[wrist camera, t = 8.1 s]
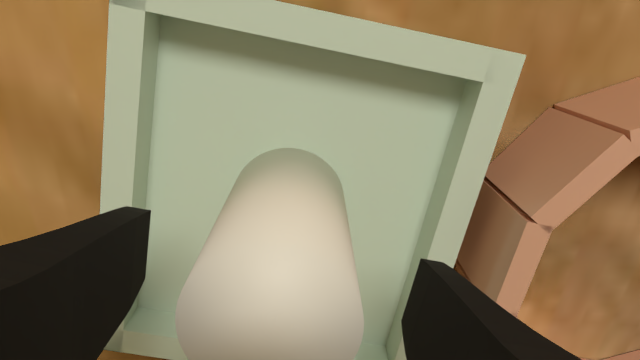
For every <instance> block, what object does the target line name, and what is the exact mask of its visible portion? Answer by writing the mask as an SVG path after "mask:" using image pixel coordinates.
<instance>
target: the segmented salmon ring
mask: <svg viewBox="0 0 640 360" xmlns="http://www.w3.org/2000/svg"><path fill="white" fill-rule="evenodd" d="M554 108H555V109H553V108H551V107H549V108H548V109H547V110H546V111H545V112H544V113H543V114H542V115H541V116H540V117H538V118H537V119H536V120H535V121H534V122H533V123H532V124H531V125H530V126H529V127H528V128H527V129H526V130H525V131H524V132H523V133H522V134H521V135H520V136H519V137H517V138H516V139H515V140H514V141H513V142H512V143H511V144H510V145H509V146H508V147H507V148H506V149H505V150H504V151H503V152H502V153H501V154H500V155H499V156H498V157H497V158H495V159H494V160H493V161H492V162H491V163H490V164H489V166H488V169H487V172H486V174H485V176H486V177H487V178H485V177H484V180H483V183H482V186H481V189H480V192H479V195H478V198H477V201H476V204H475V206H474V209H473V212H472V215H471V218H470V221H469V224H468V227H467V230H466V233H465V236H464V239H463V241H462V244H461V247H460V250H459V253H458V256H457V259H456V262H455V266H456V270H457V272H458V273H459V274H461V275H462V276H463V277H464V278H466V279H467V280H468V281H469V282H471V283H472V284H473V285H474V286H476V287H477V288H478V289H479V290H481V291H482V292H483V293H484V294H486V295H487V296H488V297H489V298H491V299H492V300H493V301H495V302H496V303H497V304H498V305H500V306H501V307H502V308H504V309H505V310H506V311H508V312H509V313H510V314H512V315H513V316H514V317H516V318H517V314H518V312H519V310H520V307H521V305H522V302H523V300H524V297H525V295H526V293H527V290H528V288H529V285H530V283H531V280H532V278H533V276H534V273H535V271H536V268H537V266H538V263H539V261H540V259H541V256H542V254H543V251H544V249H545V247H546V244H547V242H548V239H549V237H550V234H551V232H552V230H553V229H555V228H556V227H557V226H558V225H559V224H560V223H562V222H563V221H564V220H565V219H566V218H567V217H568V216H570V215H571V214H572V213H573V212H574V211H575V210H577V209H578V208H579V207H580V206H581V205H582V204H583V203H585V202H586V201H587V200H588V199H589V198H590V197H592V196H593V195H594V194H595V193H596V192H597V191H598V190H600V189H601V188H602V187H603V186H604V185H605V184H607V183H608V182H609V181H610V180H611V179H612V178H613V177H615V176H616V175H617V174H618V173H619V172H620V171H622V170H623V169H624V168H625V167H626V166H627V165H628V164H630V163H631V162H632V161H633V160H634V159H635V158H637V157H638V156H640V77H638V78H635V79H631V80H628V81H625V82H622V83H619V84H616V85H613V86H610V87H607V88H603V89H600V90H597V91H594V92H591V93H588V94H585V95H582V96H578V97H575V98H572V99H569V100H566V101H563V102H560V103H557V104H554ZM517 319H518V318H517ZM580 359H582V360H590V359H584V358H580ZM602 360H640V350H636V351H633V352H629V353H625V354H621V355H618V356H614V357H610V358H606V359H602Z"/></svg>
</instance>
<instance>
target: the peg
mask: <svg viewBox="0 0 640 360" xmlns="http://www.w3.org/2000/svg"><path fill="white" fill-rule="evenodd" d="M175 325H176V333H177V336H178V340H179V343H180V345H181V347H182V349H183V352H184V353H185V355H186V356H187V358H188V360H354V358H355V356H356V354H357V352H358V350H359V347H360V345H361V342H362V337H363V333H364V316H363V308H362V302H361V296H360V290H359V284H358V278H357V271H356V265H355V259H354V253H353V247H352V241H351V235H350V228H349V222H348V216H347V210H346V204H345V198H344V192H343V188H342V184H341V182H340V180H339V178H338V176H337V174H336V172H335V171H334V170H333V169H332V167H331V166H330V165H329V164H328V163H327V162H326V161H324V160H323V159H322V158H320V157H318V156H317V155H315V154H313V153H311V152H308V151H305V150H301V149H296V148H279V149H274V150H270V151H267V152H265V153H262V154H260V155H259V156H257V157H255V158H254V159H253V160H251V161H250V162H249V163H248V164H247V165H246V166H245V167H244V168H243V170H242V171H241V172H240V174H239V176H238V178H237V180H236V182H235V184H234V186H233V188H232V190H231V192H230V194H229V196H228V198H227V200H226V202H225V204H224V206H223V208H222V210H221V212H220V214H219V216H218V218H217V220H216V222H215V224H214V226H213V228H212V230H211V232H210V234H209V236H208V238H207V240H206V242H205V244H204V246H203V248H202V250H201V252H200V254H199V256H198V258H197V260H196V262H195V264H194V266H193V268H192V270H191V272H190V274H189V276H188V278H187V280H186V282H185V284H184V286H183V288H182V290H181V293H180V296H179V298H178V301H177V306H176V311H175Z"/></svg>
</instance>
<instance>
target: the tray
mask: <svg viewBox="0 0 640 360" xmlns="http://www.w3.org/2000/svg"><path fill="white" fill-rule="evenodd" d="M525 58H526V55H524V54H519V53H514V52H510V51H505V50H501V49H496V48H491V47H487V46H482V45H478V44H473V43H468V42H464V41H459V40H455V39H450V38H445V37H441V36H436V35H432V34H427V33H422V32H418V31H413V30H409V29H404V28H399V27H395V26H390V25H386V24H381V23H376V22H372V21H367V20H363V19H358V18H353V17H349V16H344V15H340V14H335V13H330V12H326V11H321V10H317V9H312V8H307V7H303V6H298V5H294V4H289V3H284V2H280V1H275V0H109V18H108V41H107V63H106V86H105V109H104V131H103V154H102V176H101V199H100V214H102V213H105V212H108V211H111V210H114V209H117V208H121V207H126V206H129V207H135V208H141V209H146V210H151V217H150V229H149V241H148V252H147V264H146V276H145V280H144V282H143V284H142V287H141V289H140V291H139V293H138V295H137V297H136V299H135V301H134V303H133V305H132V307H131V309H130V311H129V312H128V314H127V315H126V317H125V318H124V320H123V321H122V323H121V324H120V326H119V327H118V329H117V330H116V332H115V333H114V335H113V336H112V338H111V339H110V341H109V342H108V343H107V345H106V346H105V348H104V349H103V350H109V351H116V352H123V353H130V354H136V355H143V356H150V357H156V358H163V359H170V360H188V358H187V356H186V355H185V353H184V352H183V349H182V347H181V345H180V343H179V340H178V336H177V333H176V325H175V311H176V306H177V301H178V298H179V296H180V293H181V290H182V288H183V286H184V284H185V282H186V280H187V278H188V276H189V274H190V272H191V270H192V268H193V266H194V264H195V262H196V260H197V258H198V256H199V254H200V252H201V250H202V248H203V246H204V244H205V242H206V240H207V238H208V236H209V234H210V232H211V230H212V228H213V226H214V224H215V222H216V220H217V218H218V216H219V214H220V212H221V210H222V208H223V206H224V204H225V202H226V200H227V198H228V196H229V194H230V192H231V190H232V188H233V186H234V184H235V182H236V180H237V178H238V176H239V174H240V172H241V171H242V170H243V168H244V167H245V166H246V165H247V164H248V163H249V162H250V161H251V160H253V159H254V158H255V157H257V156H259V155H260V154H262V153H265V152H267V151H270V150H274V149H279V148H296V149H301V150H305V151H308V152H311V153H313V154H315V155H317V156H318V157H320V158H322V159H323V160H324V161H326V162H327V163H328V164H329V165H330V166H331V167H332V169H333V170H334V171H335V172H336V174H337V176H338V178H339V180H340V182H341V184H342V188H343V192H344V198H345V204H346V210H347V216H348V222H349V228H350V235H351V241H352V247H353V253H354V259H355V265H356V271H357V278H358V284H359V290H360V296H361V302H362V308H363V316H364V333H363V337H362V342H361V345H360V347H359V350H358V352H357V354H356V356H355V358H354V360H407V359H406V355H405V349H404V342H403V334H402V325H401V320H402V317H403V313H404V310H405V307H406V304H407V301H408V297H409V294H410V291H411V288H412V285H413V281H414V278H415V275H416V272H417V269H418V265H419V262H420V259H421V258H422V259H428V260H433V261H439V262H443V263H445V264H447V265H448V266H450V267H451V268H454V265H455V262H456V259H457V256H458V253H459V250H460V247H461V244H462V241H463V239H464V236H465V233H466V230H467V227H468V224H469V221H470V218H471V215H472V212H473V209H474V206H475V204H476V201H477V198H478V195H479V192H480V189H481V186H482V183H483V180H484V177H485V174H486V172H487V169H488V166H489V163H490V160H491V157H492V154H493V151H494V148H495V145H496V142H497V139H498V137H499V134H500V131H501V128H502V125H503V122H504V119H505V116H506V113H507V110H508V107H509V104H510V102H511V99H512V96H513V93H514V90H515V87H516V84H517V81H518V78H519V75H520V72H521V69H522V67H523V64H524V61H525Z"/></svg>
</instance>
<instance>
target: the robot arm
mask: <svg viewBox="0 0 640 360" xmlns="http://www.w3.org/2000/svg"><path fill="white" fill-rule="evenodd" d="M150 217H151V210H146V209H141V208H135V207H129V206H126V207H121V208H117V209H114V210H111V211H108V212H105V213H102V214H100V215H97V216H94V217H91V218H88V219H86V220H83V221H80V222H77V223H74V224H71V225H69V226H66V227H63V228H60V229H56V230H53V231H50V232H47V233H44V234H40V235H37V236H34V237H31V238H28V239H24V240H21V241H17V242H13V243H9V244H6V245H2V246H0V360H97V358H98V357H99V355H100V354H101V352H102V351H103V349H104V348H105V346H106V345H107V343H108V342H109V341H110V339H111V338H112V336H113V335H114V333H115V332H116V330H117V329H118V327H119V326H120V324H121V323H122V321H123V320H124V318H125V317H126V315H127V314H128V312H129V311H130V309H131V307H132V305H133V303H134V301H135V299H136V297H137V295H138V293H139V291H140V289H141V287H142V284H143V282H144V280H145V276H146V264H147V252H148V241H149V229H150ZM401 325H402V334H403V342H404V349H405V355H406V359H407V360H582V359H580V358H578V357H576V356H575V355H573V354H571V353H569V352H568V351H566V350H564V349H563V348H561V347H559V346H558V345H556V344H555V343H553V342H551V341H550V340H548V339H547V338H545V337H543V336H542V335H540V334H539V333H537V332H536V331H534V330H533V329H531V328H530V327H528V326H527V325H526V324H524V323H523V322H521V321H520V320H519V319H517V318H516V317H514V316H513V315H512V314H510V313H509V312H508V311H506V310H505V309H504V308H502V307H501V306H500V305H498V304H497V303H496V302H495V301H493V300H492V299H491V298H489V297H488V296H487V295H486V294H484V293H483V292H482V291H481V290H479V289H478V288H477V287H476V286H474V285H473V284H472V283H471V282H469V281H468V280H467V279H466V278H464V277H463V276H462V275H461V274H459V273H458V272H457V271H455V270H454V269H453V268H451V267H450V266H448V265H447V264H445V263H443V262H439V261H433V260H428V259H422V258H421V259H420V262H419V265H418V269H417V272H416V275H415V278H414V281H413V285H412V288H411V291H410V294H409V297H408V301H407V304H406V307H405V310H404V313H403V317H402V320H401Z"/></svg>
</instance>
